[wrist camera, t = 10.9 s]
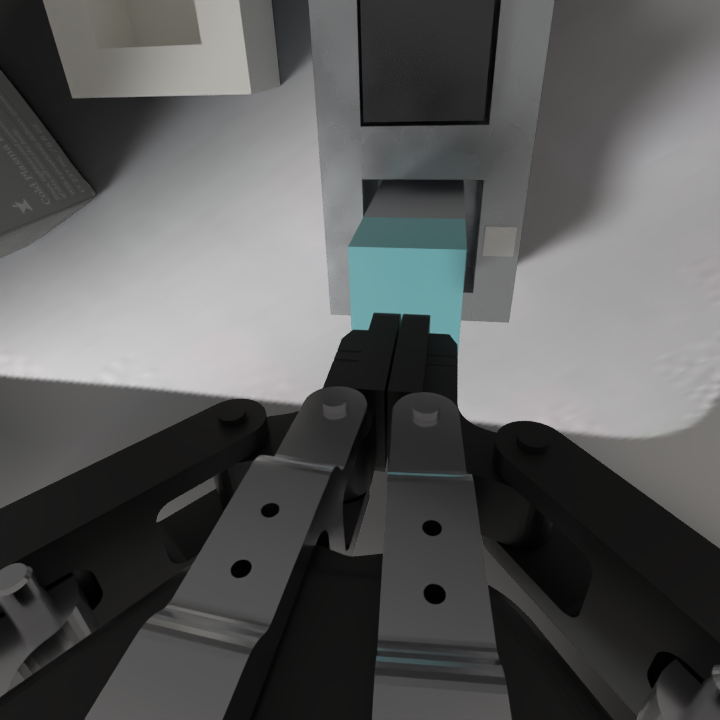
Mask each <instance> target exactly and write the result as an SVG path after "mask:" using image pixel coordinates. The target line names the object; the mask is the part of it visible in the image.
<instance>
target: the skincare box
mask: <svg viewBox="0 0 720 720" xmlns="http://www.w3.org/2000/svg"><path fill="white" fill-rule="evenodd" d="M94 195H96V194H95V191H94V190H93V189H92V188H91V186H90V185H89V184H88V182H87V181H85V180H84V179H83V177H82V176H81V175H80V174H79V172H78V171H77V170H76V168H75V167H74V166H73V165H72V163H71V162H70V161H69V159H68V158H67V156H66V155H65V153H64V152H63V151H62V149H61V148H60V147H59V145H58V144H57V143H56V141H55V140H54V139H53V137H52V136H51V134H50V133H49V132H48V130H47V129H46V128H45V126H44V125H43V124H42V122H41V121H40V120H39V118H38V117H37V116H36V115H35V113H34V112H33V111H32V109H31V108H30V107H29V105H28V104H27V103H26V101H25V100H24V99H23V98H22V96H21V95H20V94H19V92H18V91H17V90H16V89H15V88H14V86H13V85H12V84H11V82H10V81H9V80H8V79H7V77H6V76H5V75H4V74H3V72H2V71H1V70H0V258H2V257H4V256H6V255H8V254H11V253H13V252H15V251H17V250H20V249H22V248H24V247H26V246H28V245H30V244H32V243H33V242H35V241H36V240H37V239H39V238H40V237H42V236H43V235H44V234H46V233H47V232H48V231H50V230H51V229H53V228H54V227H55V226H57V225H58V224H59V223H61V222H62V221H64V220H65V219H66V218H68V217H69V216H71V215H72V214H73V213H75V212H76V211H78V210H79V209H80V208H82V207H83V206H84V205H86V204H87V203H89V202H90V201H91V200H92V199H93V197H94Z"/></svg>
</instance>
